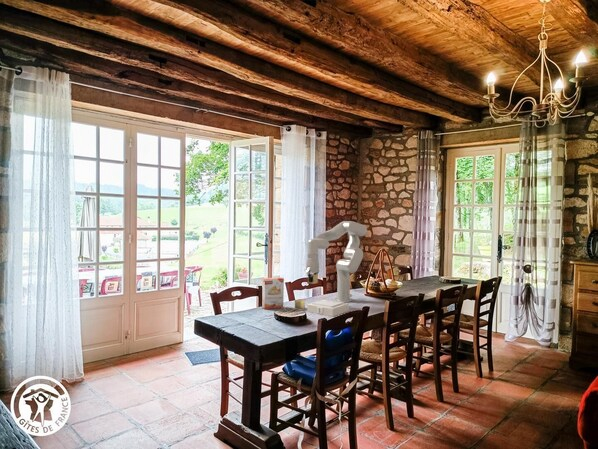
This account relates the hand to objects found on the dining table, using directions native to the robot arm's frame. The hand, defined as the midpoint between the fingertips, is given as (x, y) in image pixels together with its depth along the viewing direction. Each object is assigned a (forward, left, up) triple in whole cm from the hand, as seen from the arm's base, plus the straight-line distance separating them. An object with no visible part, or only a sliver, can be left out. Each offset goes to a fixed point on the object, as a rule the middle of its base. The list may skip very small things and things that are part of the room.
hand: (312, 281), depth 293 cm
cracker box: (+23, -18, -18) cm, 34 cm away
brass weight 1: (+13, -2, -18) cm, 22 cm away
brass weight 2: (0, 0, -1) cm, 1 cm away
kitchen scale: (+8, +18, -17) cm, 27 cm away
